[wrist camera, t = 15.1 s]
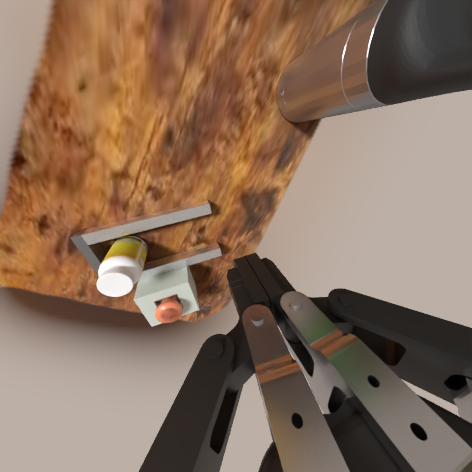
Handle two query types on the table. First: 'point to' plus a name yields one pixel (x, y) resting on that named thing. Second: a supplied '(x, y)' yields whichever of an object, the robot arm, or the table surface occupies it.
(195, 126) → the table surface
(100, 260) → the rail
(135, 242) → the pill bottle
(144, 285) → the plunger housing block
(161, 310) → the plunger
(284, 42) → the table surface
